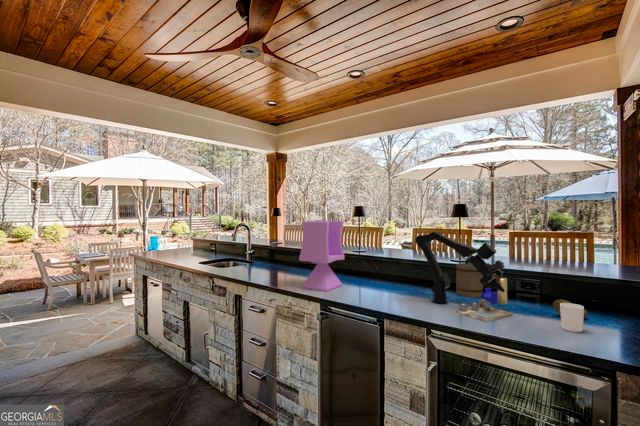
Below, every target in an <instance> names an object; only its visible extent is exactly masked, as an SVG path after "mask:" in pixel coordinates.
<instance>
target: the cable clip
mask: <svg viewBox="0 0 640 426" xmlns="http://www.w3.org/2000/svg"><path fill="white" fill-rule="evenodd" d="M481 299H485V300H486V301H488V302H489V303H490V304H499V303H498V291H492V287H484V292H483V293H482V297H481Z"/></svg>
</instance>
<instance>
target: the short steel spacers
mask: <svg viewBox="0 0 640 426" xmlns="http://www.w3.org/2000/svg"><path fill="white" fill-rule="evenodd" d="M478 300H479V301H478V302H477V301H472V302H471V307H472V310H473V311H478V306H480V307H483V310H485V311H490V307H491V302H489V301H488V302H487V300H485V299H483V298H479V299H478ZM467 304H468V303H466V302H460V303H459V310H460V311H463V312H466V311H467V308H468V307H467V306H468V305H467Z"/></svg>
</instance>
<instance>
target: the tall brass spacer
mask: <svg viewBox="0 0 640 426" xmlns="http://www.w3.org/2000/svg"><path fill="white" fill-rule="evenodd" d="M498 282H499V283H500V285H501V286H502V287H503V289H504V290H505V292H501V291H499V290H497V292H498V303H497V304H500V305H507V304H508V278H507V277H502V278H498Z"/></svg>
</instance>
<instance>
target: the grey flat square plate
mask: <svg viewBox="0 0 640 426" xmlns="http://www.w3.org/2000/svg"><path fill="white" fill-rule="evenodd" d="M472 315H475V316H478V317H481V318H484V319H491V318H495V317H498V315H495V314H492V313H488V312H485V311H480V312H475V313H472Z"/></svg>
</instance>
